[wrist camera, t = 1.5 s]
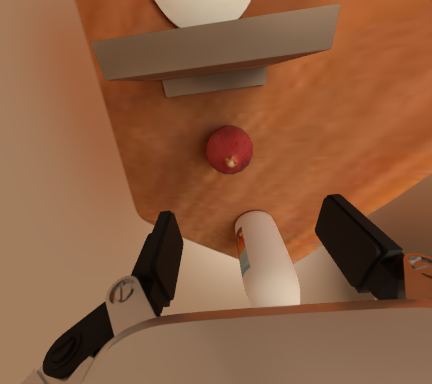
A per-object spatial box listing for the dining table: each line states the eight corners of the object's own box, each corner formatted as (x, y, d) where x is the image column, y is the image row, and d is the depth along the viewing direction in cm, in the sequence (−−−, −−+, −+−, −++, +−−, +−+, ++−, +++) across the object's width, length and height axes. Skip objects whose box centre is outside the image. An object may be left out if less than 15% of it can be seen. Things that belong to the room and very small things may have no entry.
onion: (255, 140, 24) (272, 162, 17) (228, 167, 26) (233, 196, 20) (226, 110, 22) (232, 123, 15) (199, 143, 24) (193, 167, 18)
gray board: (155, 44, 18) (69, -10, 7) (266, 27, 18) (353, -58, 7) (167, 96, 21) (119, 114, 10) (264, 84, 20) (323, 87, 9)
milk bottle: (246, 204, 30) (286, 351, 14) (281, 216, 32) (353, 360, 16) (227, 231, 34) (241, 372, 18) (259, 241, 36) (299, 377, 20)
